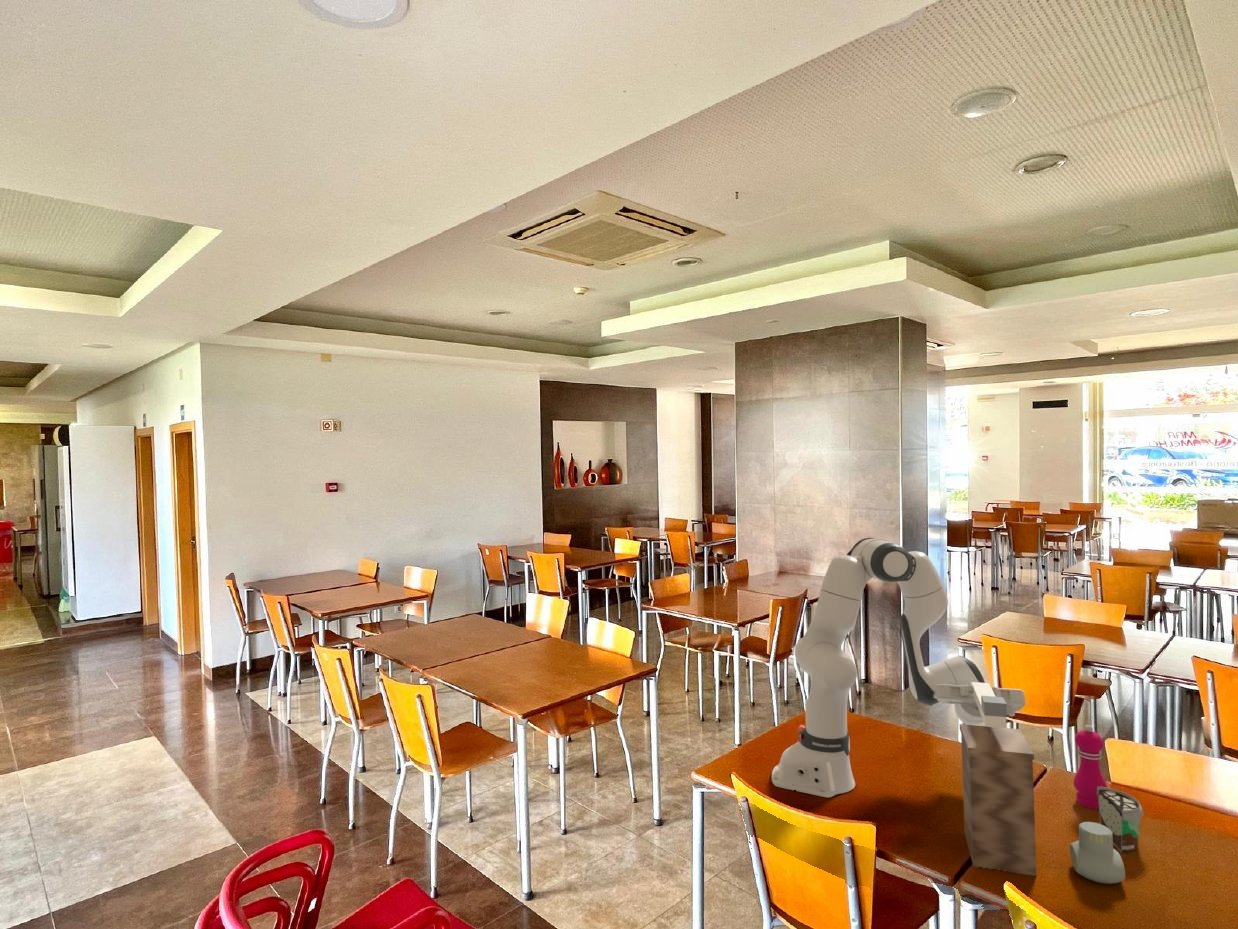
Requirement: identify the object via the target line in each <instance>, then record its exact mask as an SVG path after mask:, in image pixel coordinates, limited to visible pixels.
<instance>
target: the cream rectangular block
mask: <svg viewBox="0 0 1238 929" xmlns="http://www.w3.org/2000/svg"><path fill="white" fill-rule="evenodd" d="M971 685H972V686H973V696H974V699H975V701H976V704H977V706H978V709H979V711H980V713H981V716H982V718H983V721H984V723H983V724H984V726H986V727H997V728H1007V718H1008V716H1007V704H1006V702H1005V700H1004V698H1003V697H996V696H995V694H994V692H993V690H992V688H991V687H992V686H991V684H990V683H988V682H985V683H980V682H971Z"/></svg>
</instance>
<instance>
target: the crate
mask: <svg viewBox="0 0 1238 929" xmlns="http://www.w3.org/2000/svg"><path fill="white" fill-rule="evenodd" d="M959 731H960V733H961V734H960V736H961V739H960V740H961V761H962V762H961V763H962V768H961V769H962V790H963V791H962V793H963V794H962V795H963V796H962V797H963V823H964V835H965V840H966V843H967V847H968V851H969V856H970V858H971V862H972V865H973V868H979V867H982V869H986V868H988V869H987V870H992V869H1000V870H1006V871H1009V872H1008V873H1012V874H1013V873H1014V874H1020V875H1026V876H1034V877H1038V876H1037V851H1036V849H1037V848H1036V847H1037V846H1036V824H1035V823H1036V822H1035V821H1036V820H1035V817H1036V816H1035V794H1034V792H1035V790H1034V763H1033V762H1034V761H1033V760H1035V753H1034V751H1033V750H1032V748H1031V746H1030V745H1029V743H1028V741H1027V739H1026V737H1025V736H1024V734H1023V733H1022V731H1021V729H1019V728H1008V727H1006V728H997V727H986V726H985V725H967V724H965V723H964V724H963V723H960V724H959ZM1006 871H1005V872H1006Z"/></svg>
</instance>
